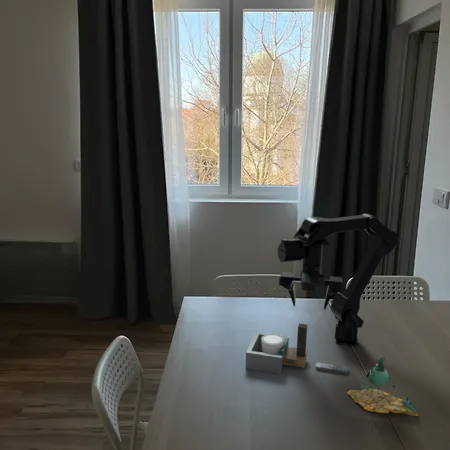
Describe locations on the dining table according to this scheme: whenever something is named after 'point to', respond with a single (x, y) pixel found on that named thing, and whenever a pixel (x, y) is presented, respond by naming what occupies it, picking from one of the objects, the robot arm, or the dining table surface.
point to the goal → (262, 357)
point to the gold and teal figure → (381, 394)
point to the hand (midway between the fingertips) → (309, 307)
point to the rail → (332, 368)
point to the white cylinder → (272, 343)
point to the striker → (296, 349)
